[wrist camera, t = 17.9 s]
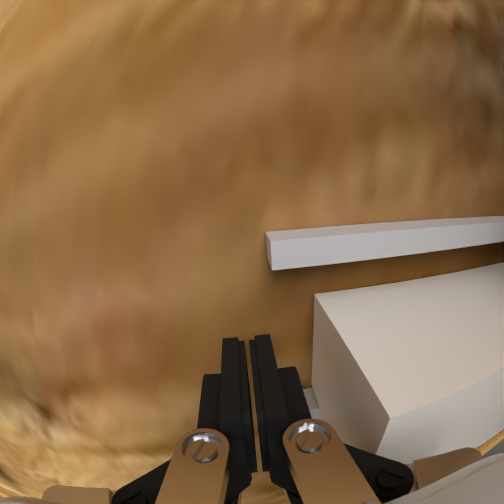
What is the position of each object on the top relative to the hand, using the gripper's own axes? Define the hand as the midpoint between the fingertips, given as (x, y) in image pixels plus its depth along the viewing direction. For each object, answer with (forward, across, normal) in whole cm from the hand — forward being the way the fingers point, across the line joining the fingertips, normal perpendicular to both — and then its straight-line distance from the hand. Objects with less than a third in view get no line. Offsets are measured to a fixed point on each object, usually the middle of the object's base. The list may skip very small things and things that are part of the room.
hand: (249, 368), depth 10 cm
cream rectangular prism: (+2, -11, +1) cm, 11 cm away
